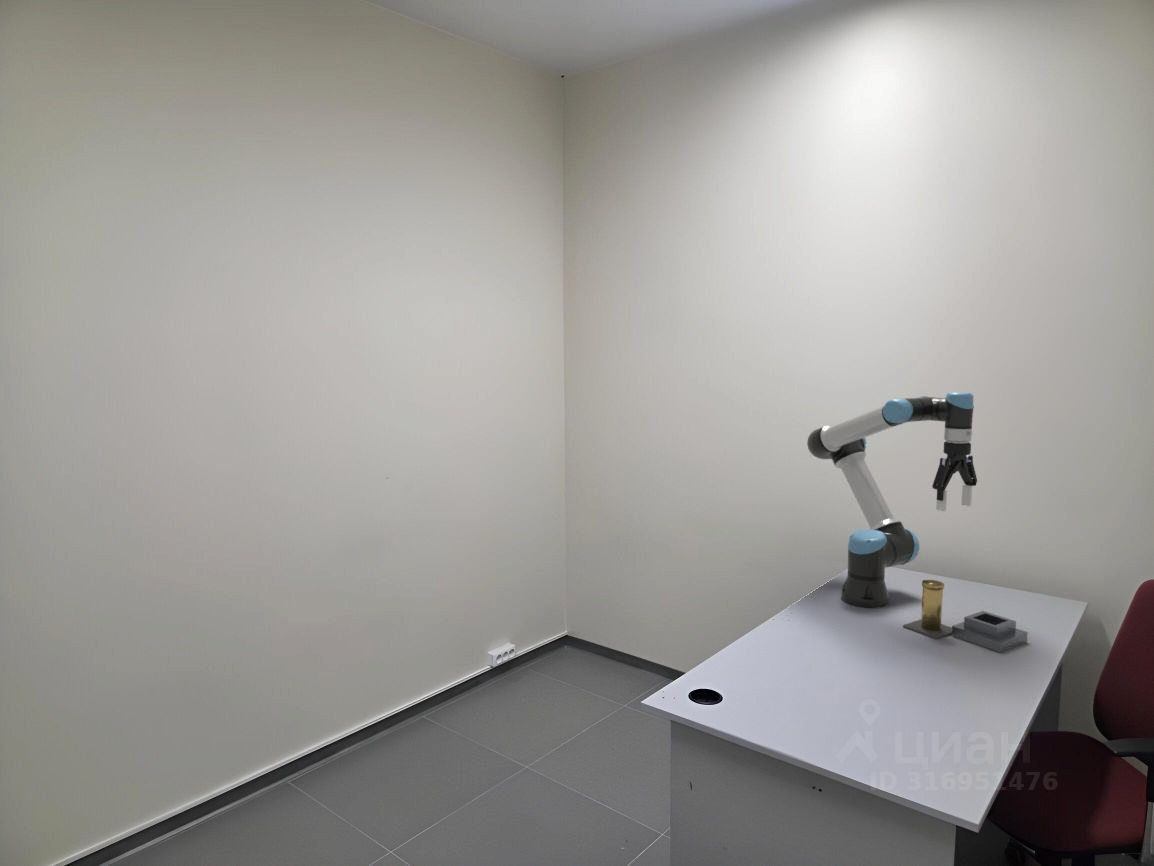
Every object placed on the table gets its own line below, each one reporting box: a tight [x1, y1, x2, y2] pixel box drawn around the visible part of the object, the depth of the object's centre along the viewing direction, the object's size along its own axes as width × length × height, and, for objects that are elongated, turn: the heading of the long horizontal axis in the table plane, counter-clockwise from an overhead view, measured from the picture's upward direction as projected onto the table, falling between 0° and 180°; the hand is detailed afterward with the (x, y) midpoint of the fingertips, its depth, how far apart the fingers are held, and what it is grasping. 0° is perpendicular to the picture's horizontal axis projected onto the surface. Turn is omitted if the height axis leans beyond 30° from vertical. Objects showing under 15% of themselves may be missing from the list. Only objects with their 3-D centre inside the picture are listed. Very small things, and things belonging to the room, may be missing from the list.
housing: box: [951, 610, 1028, 654], centre depth 203 cm, size 14×14×6 cm
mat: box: [902, 618, 952, 640], centre depth 210 cm, size 11×11×1 cm
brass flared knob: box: [920, 579, 945, 631], centre depth 209 cm, size 6×6×14 cm
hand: (953, 508), depth 219 cm, fingers open, 13 cm apart
